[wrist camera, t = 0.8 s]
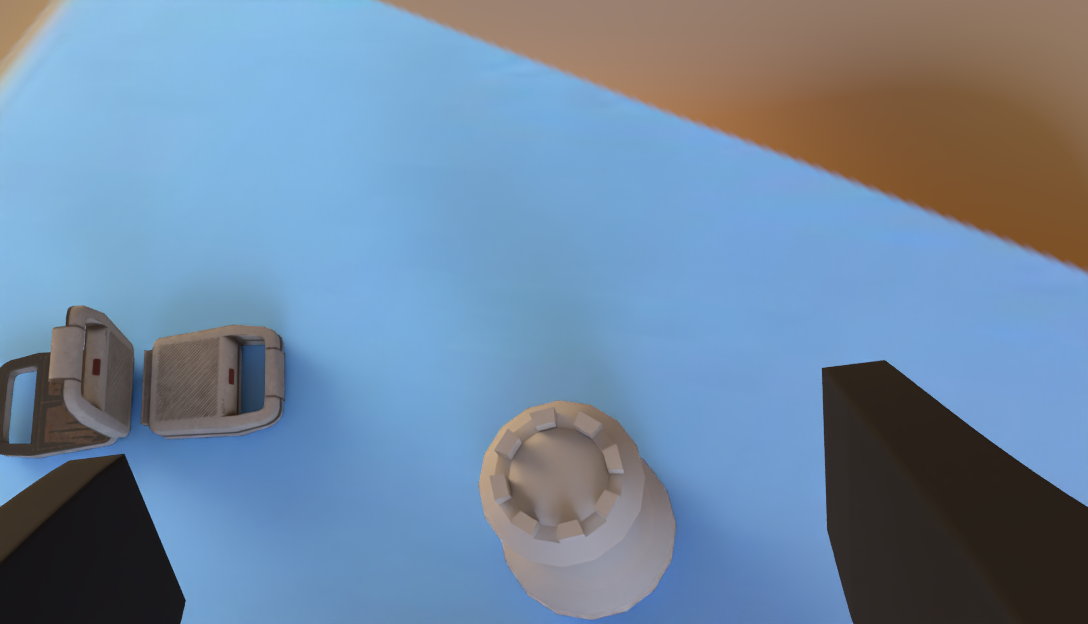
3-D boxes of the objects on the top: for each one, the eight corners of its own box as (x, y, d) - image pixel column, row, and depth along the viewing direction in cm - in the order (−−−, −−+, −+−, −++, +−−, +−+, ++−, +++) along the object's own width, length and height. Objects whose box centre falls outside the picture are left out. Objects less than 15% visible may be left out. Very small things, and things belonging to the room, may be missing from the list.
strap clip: (289, 329, 30) (230, 273, 26) (288, 432, 29) (227, 390, 25) (9, 363, 31) (-90, 313, 27) (-2, 464, 30) (-106, 428, 26)
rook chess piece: (469, 536, 27) (390, 480, 20) (584, 412, 28) (551, 313, 21) (594, 660, 26) (560, 648, 19) (712, 526, 27) (726, 463, 19)
